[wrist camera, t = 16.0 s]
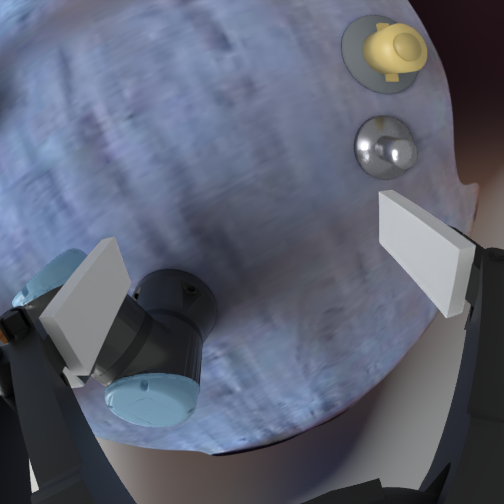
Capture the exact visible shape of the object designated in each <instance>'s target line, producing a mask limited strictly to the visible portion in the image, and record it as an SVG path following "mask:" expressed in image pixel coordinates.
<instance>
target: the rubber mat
mask: <svg viewBox="0 0 504 504" xmlns="http://www.w3.org/2000/svg"><path fill="white" fill-rule="evenodd" d="M378 23H388V24H389V26H391V25H393V24H397V23H396V22H394V21H392V20H390V19H388V18H386V17H382V16H377V15H369V16H364V17H361V18H359V19H357V20H355V21H354V22H352V23H351V24H350V25H349V26H348V27H347V29H346V30H345V32H344V34H343V37H342V42H341V51H342V57H343V60H344V63H345V65H346V67H347V69H348V70H349V72H350V74H351V75H352V76H353V77H354V78H355V79H356V80H357V81H358V82H359V83H360V84H361V85H363V86H364V87H366V88H367V89H370V90H372V91H374V92H378V93H384V94H391V93H397V92H400V91H403V90H404V89H406V88H407V87H409V86H410V85H411V83H412V82H413V81H414V79H415V77H416V75H417V72H418V71H414V72H407V73H399V74H398V78H399V82H386V78H385V75H384V74H380V73H378V72H376V71H374V70H373V69H372V68H371V67H370V66H369V65H368V64H367V62H366V60H365V58H364V56H363V50H362V49H363V43H364V41H365V39H366V38H367V37H368V36H369V35H371V34H373V33H375V32H377V27H376V24H378Z"/></svg>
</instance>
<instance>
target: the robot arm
mask: <svg viewBox="0 0 504 504" xmlns="http://www.w3.org/2000/svg"><path fill="white" fill-rule="evenodd" d="M379 243H380V244H381V245H382V246H383V247H384V248H385V249H386V250H387V251H388V252H389V253H390V254H391V256H392V257H393V258H394V259H395V260H396V261H397V262H398V263H399V264H400V265H401V266H402V267H403V269H404V270H405V271H406V272H407V273H408V274H409V275H410V276H411V277H412V279H413V280H414V281H415V282H416V283H417V284H418V285H419V287H420V288H421V289H422V290H423V291H424V292H425V293H426V295H427V296H428V297H429V298H430V299H431V300H432V302H433V303H434V304H435V305H436V306H437V308H438V309H439V310H440V311H441V312H442V313H443V315H444V316H445V317H446V318H449V317H452V316H455V315H457V314H461V313H462V311H463V307H464V303H465V299H466V300H467V301H468V302H469V303H470V304H471V307H470V311H469V314H468V318H467V321H466V325H465V328H464V329H465V330H466V337H465V343H464V349H463V354H462V360H461V365H460V370H459V374H458V379H457V383H456V387H455V392H454V396H453V399H452V403H451V407H450V410H449V414H448V417H447V421H446V424H445V427H444V430H443V434H442V437H441V440H440V443H439V445H438V448H437V451H436V454H435V457H434V459H433V462H432V465H431V467H430V469H429V472H428V473H427V475H426V477H425V479H424V480H423V482H422V484H421V486H420V488H419V490H414V489H408V488H400V487H396V488H395V487H385V488H382V486H381V482H380V480H379V478H378V479H375V480H371V481H368V482H365V483H361V484H357V485H353V486H350V487H345V488H341V489H337V490H333V491H330V492H327V493H325V494H323V495H321V496H318V497H316V498H314V499H311V500H309V501H306V502H304V503H301V504H504V250H503V249H499V248H487V249H484V248H483V247H481V246H480V245H478V244H477V243H476V242H475V241H473V240H472V239H469V237H468V236H466V235H465V234H463V233H462V232H460V231H459V230H458V229H456V228H454V227H451V226H449V225H446V224H445V223H443V222H442V221H440V220H439V219H437V218H436V217H434V216H433V215H431V214H430V213H428V212H427V211H425V210H424V209H422V208H421V207H419V206H418V205H416V204H414V203H413V202H411V201H410V200H408V199H406V198H405V197H403V196H402V195H400V194H398V193H397V192H395V191H393V190H387V191H379ZM131 284H132V283H131V281H130V278H129V275H128V273H127V270H126V267H125V264H124V262H123V259H122V256H121V253H120V250H119V247H118V244H117V241H116V238H115V237H110V238H105V239H102V240H101V241H100V242H99V243H98V244H97V246H96V247H95V248H94V249H93V250H92V251H91V252H90V254H89V255H87V254H86V253H84V252H83V251H82V250H79V249H69V250H67V251H65V252H63V253H62V254H60V255H59V256H58V257H56V258H55V259H54V260H52V261H51V262H50V263H49V264H47V265H46V266H45V267H44V268H43V269H42V270H40V271H39V272H38V273H37V274H36V275H35V276H34V277H33V278H32V279H31V280H30V281H29V282H28V283H27V285H26V286H24V287H23V289H22V290H21V291H19V292H18V294H17V295H16V296H15V297H14V299H13V301H12V304H13V306H14V308H11V309H10V310H8V311H7V312H5V313H4V314H3V315H2V316H1V317H0V329H1V331H2V333H3V334H4V336H5V338H6V339H7V341H8V344H7V345H4V346H0V504H136V502H135V501H134V499H133V498H132V496H131V495H130V494H129V492H128V491H127V489H126V488H125V486H124V485H123V483H122V482H121V480H120V479H119V477H118V475H117V474H116V472H115V471H114V469H113V467H112V466H111V464H110V463H109V461H108V459H107V457H106V456H105V454H104V452H103V450H102V449H101V447H100V445H99V443H98V441H97V440H96V438H95V436H94V434H93V432H92V430H91V428H90V426H89V424H88V422H87V420H86V418H85V416H84V414H83V412H82V410H81V408H80V406H79V404H78V401H77V399H76V397H75V395H74V393H73V390H72V388H76V387H83V386H84V385H85V383H86V382H87V380H88V379H89V377H90V376H92V377H93V378H94V379H96V380H97V381H98V382H100V383H101V384H102V385H104V386H105V387H106V390H105V401H106V403H107V405H108V407H109V409H110V410H111V411H112V412H113V413H114V414H116V415H117V416H118V417H120V418H122V419H124V420H126V421H128V422H131V423H134V424H137V425H141V426H147V427H168V426H174V425H177V424H180V423H182V422H184V421H186V420H187V419H188V418H189V417H190V416H191V415H192V414H193V413H194V411H195V408H196V404H197V398H198V395H199V393H200V374H201V360H202V346H203V343H204V342H205V340H206V338H207V337H208V335H209V334H210V332H211V331H212V329H213V327H214V324H215V321H216V302H215V298H214V296H213V294H212V292H211V291H210V289H209V288H208V287H207V286H206V285H205V284H204V283H203V282H202V281H201V280H199V279H198V278H196V277H195V276H193V275H191V274H188V273H186V272H182V271H178V270H160V271H156V272H153V273H151V274H149V275H147V276H146V277H144V278H143V279H142V280H141V281H140V282H139V283H138V285H137V287H136V289H135V291H134V293H133V295H132V298H131V297H130V296H129V295H128V294H127V292H128V290H129V288H130V286H131ZM29 459H30V462H31V465H32V469H33V472H34V475H35V478H36V481H37V484H38V487H39V490H38V491H36V492H34V493H32V491H31V482H30V469H29Z"/></svg>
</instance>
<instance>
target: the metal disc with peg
mask: <svg viewBox="0 0 504 504" xmlns="http://www.w3.org/2000/svg"><path fill="white" fill-rule="evenodd" d="M354 151H355V156H356V159H357V162H358V163H359V165H360V166H361V168H362V169H363V170H364V171H365V172H366V173H368V174H369V175H371V176H373V177H375V178H377V179H382V180H389V179H393V178H396V177H398V176H399V175H401V174H402V173H403V172H404V171H405V170H406V169H408V168H410V167H412V166H413V165H414V164H415V162H416V160H417V149H416V147H415V145H414V144H413V140H412V137H411V134H410V132H409V130H408V129H407V127H406V126H405V125H404V124H403V123H402V122H401V121H399V120H398V119H396V118H393V117H389V116H376V117H372V118H370V119H368V120H367V121H366V122H364V123H363V124H362V125H361V127H360V128H359V130H358V132H357V134H356V137H355V141H354Z"/></svg>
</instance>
